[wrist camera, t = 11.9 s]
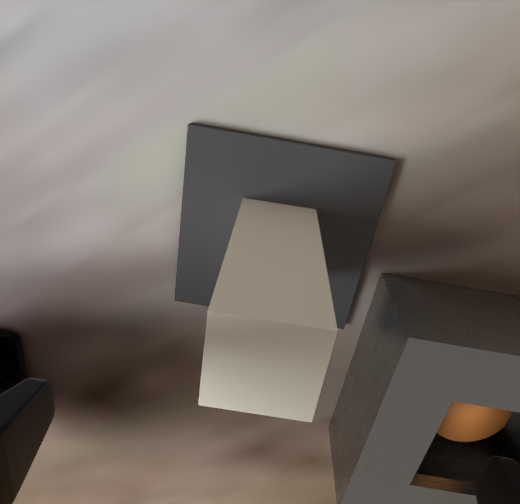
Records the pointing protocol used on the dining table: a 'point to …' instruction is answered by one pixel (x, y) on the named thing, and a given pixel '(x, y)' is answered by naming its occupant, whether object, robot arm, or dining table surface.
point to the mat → (277, 191)
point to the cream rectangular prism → (269, 316)
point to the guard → (424, 393)
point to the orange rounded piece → (472, 422)
